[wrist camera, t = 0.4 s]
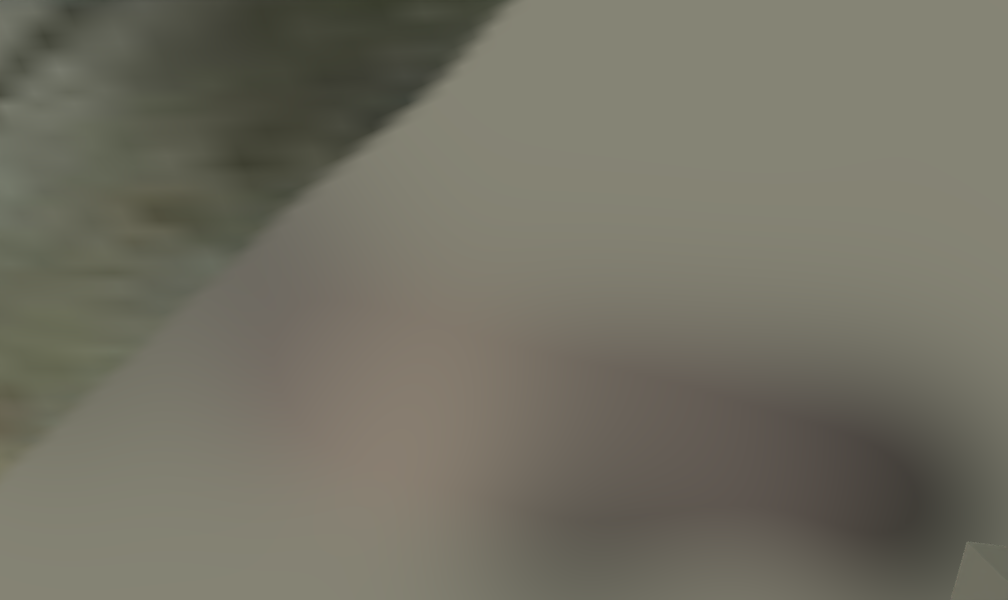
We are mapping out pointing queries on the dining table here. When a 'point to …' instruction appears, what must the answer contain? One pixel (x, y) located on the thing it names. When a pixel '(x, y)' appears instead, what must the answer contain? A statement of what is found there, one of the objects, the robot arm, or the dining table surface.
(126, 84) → the dining table surface
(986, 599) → the robot arm
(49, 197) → the dining table surface
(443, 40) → the dining table surface
